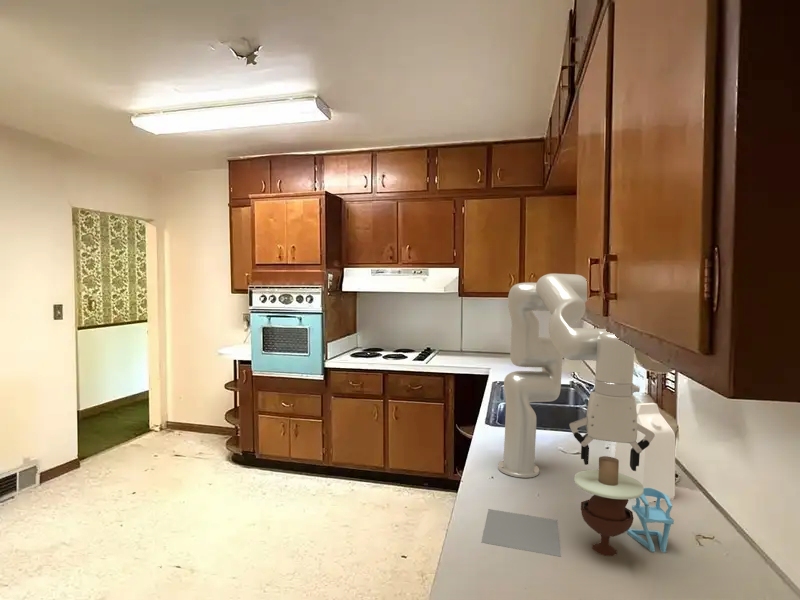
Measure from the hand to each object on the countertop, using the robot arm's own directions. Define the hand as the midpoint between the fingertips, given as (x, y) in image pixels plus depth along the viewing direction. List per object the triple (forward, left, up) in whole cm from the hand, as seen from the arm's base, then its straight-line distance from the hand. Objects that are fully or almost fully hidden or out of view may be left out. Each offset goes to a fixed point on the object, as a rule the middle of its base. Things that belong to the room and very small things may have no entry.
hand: (609, 465), depth 107 cm
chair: (-8, +11, -20) cm, 24 cm away
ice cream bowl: (0, 0, -20) cm, 20 cm away
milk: (-38, +15, -20) cm, 45 cm away
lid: (0, 0, -4) cm, 4 cm away
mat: (-2, -18, -19) cm, 27 cm away
